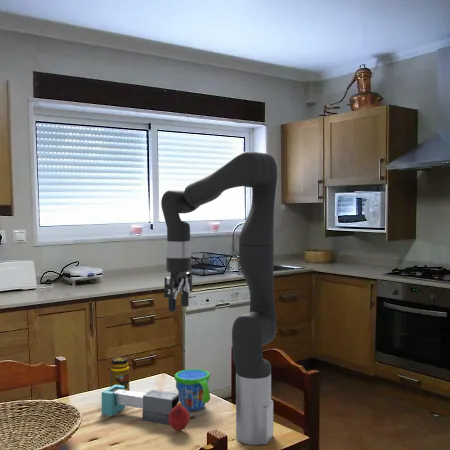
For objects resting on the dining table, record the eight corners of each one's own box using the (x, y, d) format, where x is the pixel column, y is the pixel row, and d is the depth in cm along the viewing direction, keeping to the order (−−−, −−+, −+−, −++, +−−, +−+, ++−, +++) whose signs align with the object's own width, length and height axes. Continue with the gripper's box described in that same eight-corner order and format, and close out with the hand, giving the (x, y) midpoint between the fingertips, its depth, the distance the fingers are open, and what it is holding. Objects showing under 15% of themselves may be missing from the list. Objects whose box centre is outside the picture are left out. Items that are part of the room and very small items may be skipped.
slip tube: (156, 405, 148) (156, 394, 148) (150, 410, 145) (150, 398, 145) (115, 399, 153) (115, 388, 153) (109, 403, 150) (109, 392, 150)
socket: (125, 407, 154) (124, 385, 154) (111, 416, 148) (111, 393, 148) (115, 405, 156) (115, 384, 155) (101, 414, 149) (101, 392, 149)
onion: (186, 437, 134) (186, 407, 134) (165, 435, 135) (165, 405, 135) (192, 427, 140) (192, 399, 139) (172, 426, 141) (172, 397, 141)
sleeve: (180, 417, 147) (179, 393, 147) (170, 425, 141) (170, 400, 141) (152, 412, 150) (152, 389, 150) (142, 420, 145) (142, 396, 144)
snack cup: (166, 401, 159) (166, 369, 158) (196, 395, 164) (195, 364, 164) (188, 419, 145) (188, 384, 145) (220, 412, 151) (220, 378, 150)
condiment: (126, 400, 160) (125, 362, 160) (100, 398, 162) (100, 361, 161) (133, 391, 168) (133, 356, 167) (109, 390, 169) (109, 354, 168)
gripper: (179, 258, 146) (179, 314, 146) (199, 254, 159) (199, 305, 159) (156, 257, 149) (156, 312, 149) (178, 253, 162) (178, 303, 162)
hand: (178, 308), depth 154 cm, fingers open, 8 cm apart
